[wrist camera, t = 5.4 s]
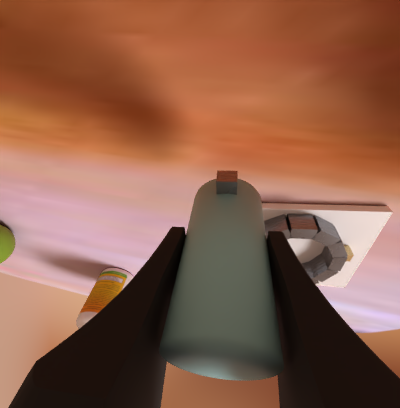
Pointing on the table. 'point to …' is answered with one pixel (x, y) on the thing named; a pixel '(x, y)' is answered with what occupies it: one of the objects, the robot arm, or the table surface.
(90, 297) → the supplement bottle
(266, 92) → the table surface
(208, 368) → the teal peg
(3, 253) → the snail figurine
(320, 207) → the collar plate
